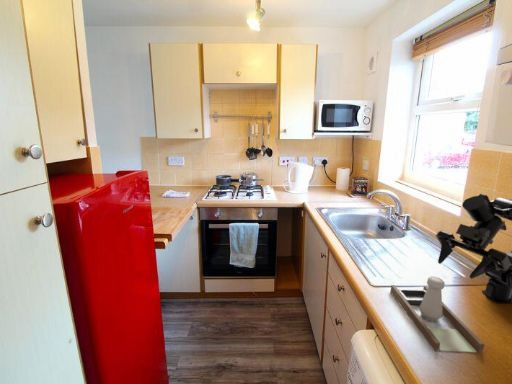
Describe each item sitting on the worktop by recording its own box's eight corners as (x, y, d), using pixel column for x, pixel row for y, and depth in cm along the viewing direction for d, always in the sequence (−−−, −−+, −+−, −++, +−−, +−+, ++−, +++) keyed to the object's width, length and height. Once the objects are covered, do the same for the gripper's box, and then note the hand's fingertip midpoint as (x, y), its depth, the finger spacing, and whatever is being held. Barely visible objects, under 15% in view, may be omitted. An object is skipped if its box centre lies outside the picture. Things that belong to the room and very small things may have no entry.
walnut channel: (425, 292, 96) (426, 285, 96) (482, 352, 71) (484, 344, 71) (390, 291, 97) (391, 285, 96) (434, 351, 72) (436, 342, 71)
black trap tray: (423, 294, 95) (424, 289, 95) (433, 306, 89) (434, 300, 89) (396, 294, 95) (397, 288, 95) (405, 305, 90) (406, 299, 89)
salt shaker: (432, 311, 87) (439, 273, 84) (445, 323, 81) (453, 284, 78) (414, 311, 87) (420, 273, 84) (425, 324, 81) (433, 284, 78)
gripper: (445, 206, 90) (416, 243, 89) (515, 226, 74) (481, 271, 72) (455, 226, 95) (428, 261, 94) (523, 249, 79) (491, 291, 77)
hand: (453, 270), depth 84 cm, fingers open, 9 cm apart
